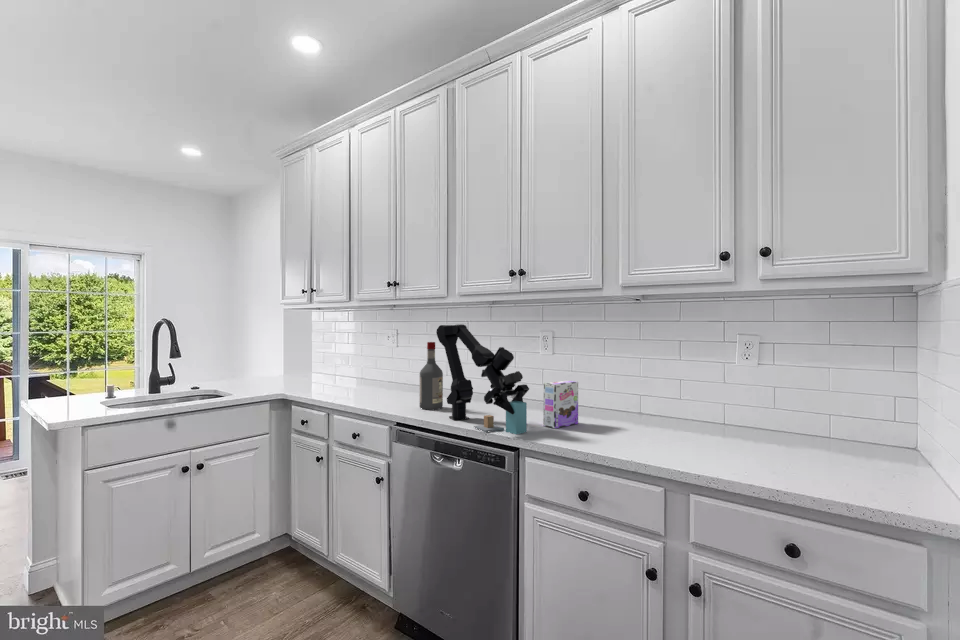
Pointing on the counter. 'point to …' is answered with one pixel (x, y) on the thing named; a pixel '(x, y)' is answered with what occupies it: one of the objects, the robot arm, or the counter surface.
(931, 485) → the counter surface
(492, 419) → the post stand
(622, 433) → the counter surface
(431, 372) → the liquor
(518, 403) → the teal rectangular block
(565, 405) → the candy box
